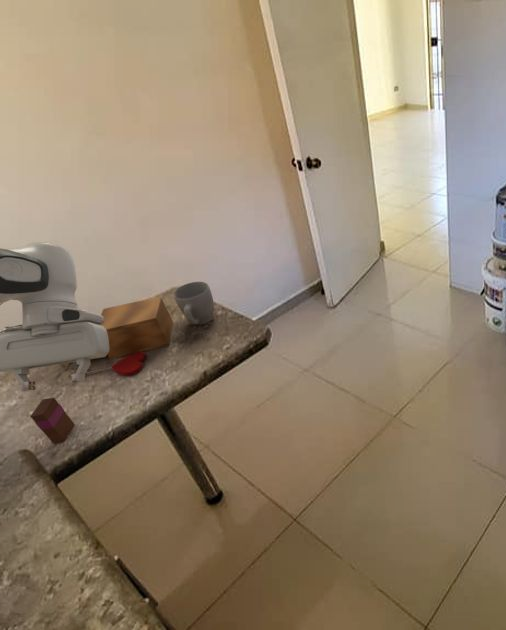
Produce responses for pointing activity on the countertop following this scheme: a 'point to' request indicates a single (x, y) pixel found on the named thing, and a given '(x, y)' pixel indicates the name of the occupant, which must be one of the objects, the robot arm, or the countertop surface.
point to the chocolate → (52, 420)
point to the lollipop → (127, 364)
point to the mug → (195, 302)
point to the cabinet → (137, 327)
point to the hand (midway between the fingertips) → (53, 386)
